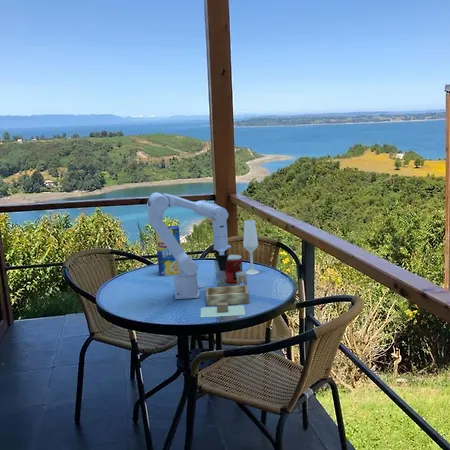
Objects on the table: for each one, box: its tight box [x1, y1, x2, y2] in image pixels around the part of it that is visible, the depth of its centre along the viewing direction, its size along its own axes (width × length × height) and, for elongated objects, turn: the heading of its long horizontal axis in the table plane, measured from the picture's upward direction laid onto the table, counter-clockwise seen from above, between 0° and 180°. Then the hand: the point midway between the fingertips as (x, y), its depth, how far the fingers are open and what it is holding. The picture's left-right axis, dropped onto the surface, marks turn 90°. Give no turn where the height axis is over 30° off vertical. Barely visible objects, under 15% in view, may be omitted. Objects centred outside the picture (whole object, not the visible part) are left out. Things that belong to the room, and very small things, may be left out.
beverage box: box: [154, 225, 181, 277], centre depth 239 cm, size 7×11×22 cm, turn 98°
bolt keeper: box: [236, 270, 248, 286], centre depth 207 cm, size 4×4×8 cm
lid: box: [200, 302, 246, 319], centre depth 186 cm, size 16×10×4 cm, turn 92°
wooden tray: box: [205, 284, 250, 307], centre depth 197 cm, size 16×10×4 cm, turn 92°
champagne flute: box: [242, 219, 260, 275], centre depth 232 cm, size 7×7×24 cm
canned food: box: [224, 254, 243, 285], centre depth 222 cm, size 8×8×11 cm
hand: (222, 268), depth 209 cm, fingers open, 7 cm apart
